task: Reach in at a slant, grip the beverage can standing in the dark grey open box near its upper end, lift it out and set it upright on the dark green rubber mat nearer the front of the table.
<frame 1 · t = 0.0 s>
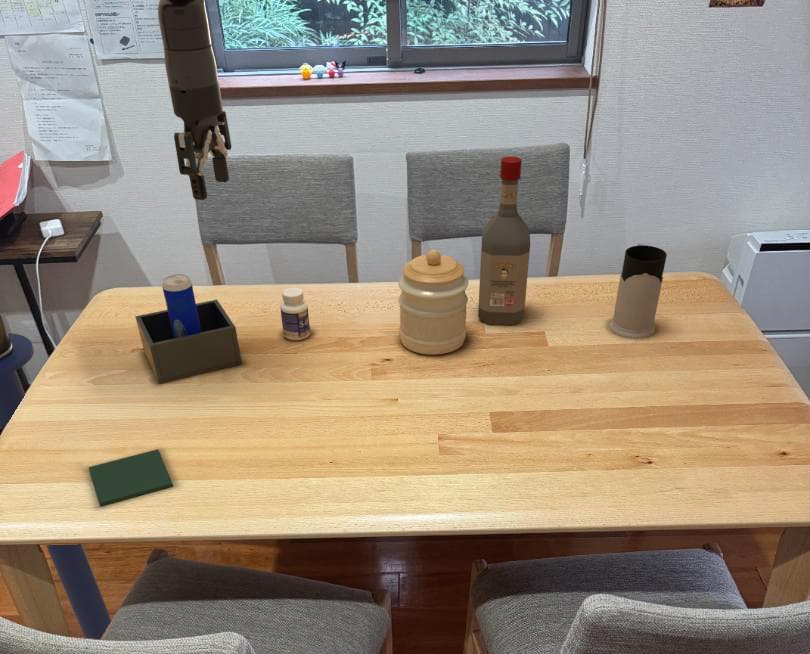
hand: (211, 190, 134), 30 cm above the table, tool pointing down, fingers open, 8 cm apart
glass holder: (630, 321, 162), on the table
pill bottle: (297, 335, 160), on the table
beverage can: (192, 356, 153), resting on dark grey open box
jar: (432, 340, 158), on the table
liquor: (500, 316, 165), on the table
dark grey open box: (192, 358, 153), on the table
mat: (130, 478, 126), on the table
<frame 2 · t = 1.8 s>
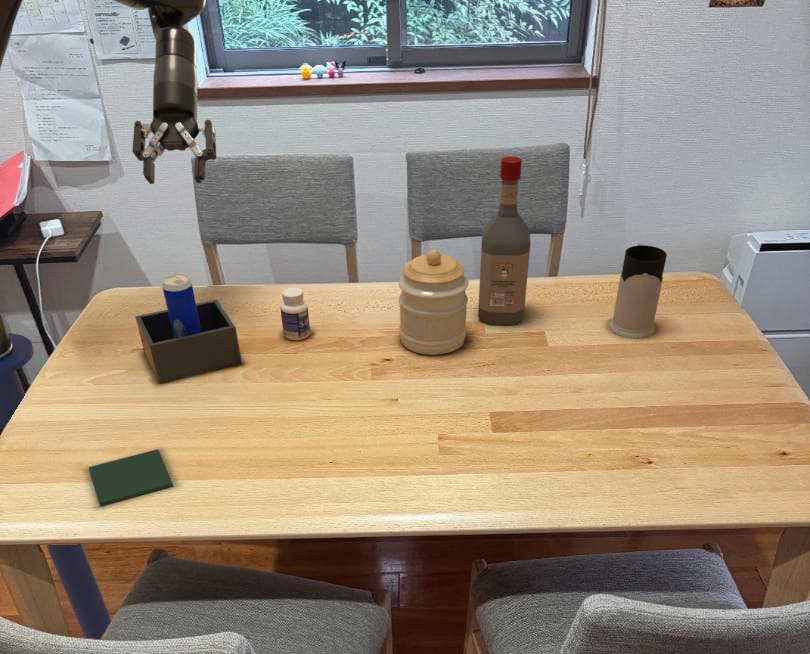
hand: (174, 181, 142), 29 cm above the table, tool tilted 45°, fingers open, 8 cm apart
nothing on the table moved.
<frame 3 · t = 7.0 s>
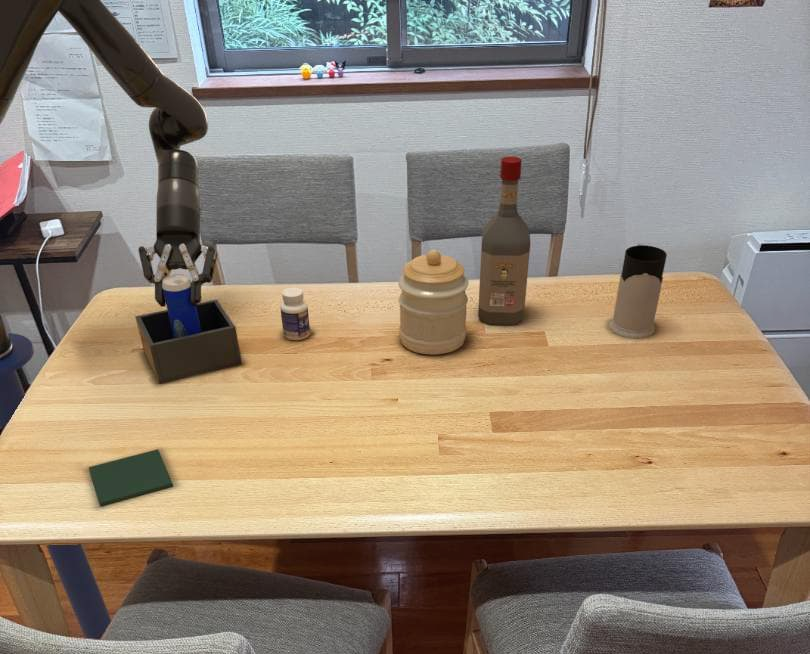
hand: (178, 304, 144), 12 cm above the table, tool tilted 45°, fingers closed on beverage can, 5 cm apart
beverage can: (192, 356, 153), resting on dark grey open box, touching gripper
everything else where it was.
when the fingers open (12 cm above the table, at t = 18.8 s): beverage can stays where it is, resting on mat.
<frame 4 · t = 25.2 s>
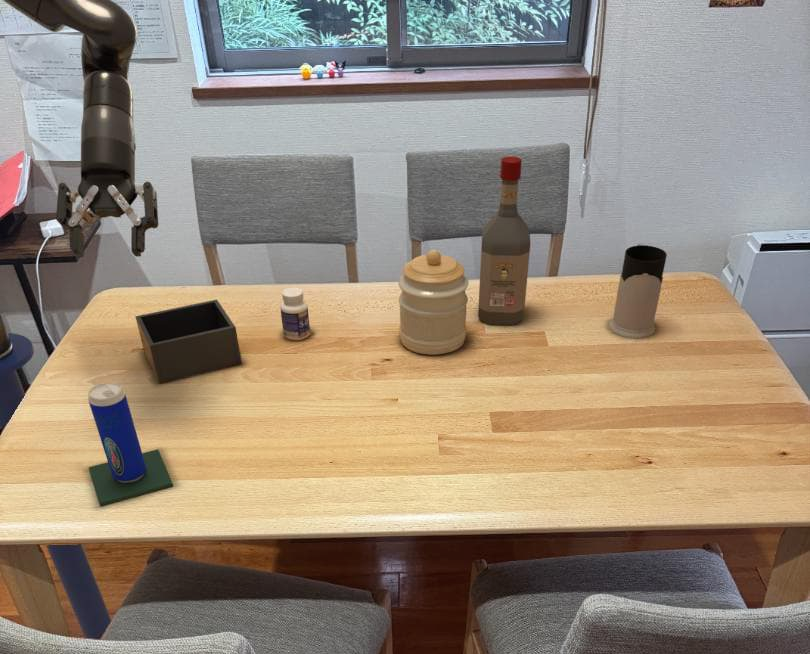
hand: (107, 254, 119), 29 cm above the table, tool tilted 45°, fingers open, 8 cm apart
beverage can: (130, 475, 126), resting on mat
everything else where it was.
at the end: beverage can inside the target area on the mat (0.1 cm from its centre), point 0.4 cm above the mat's base; beverage can tilted 0°; the gripper is holding nothing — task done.
